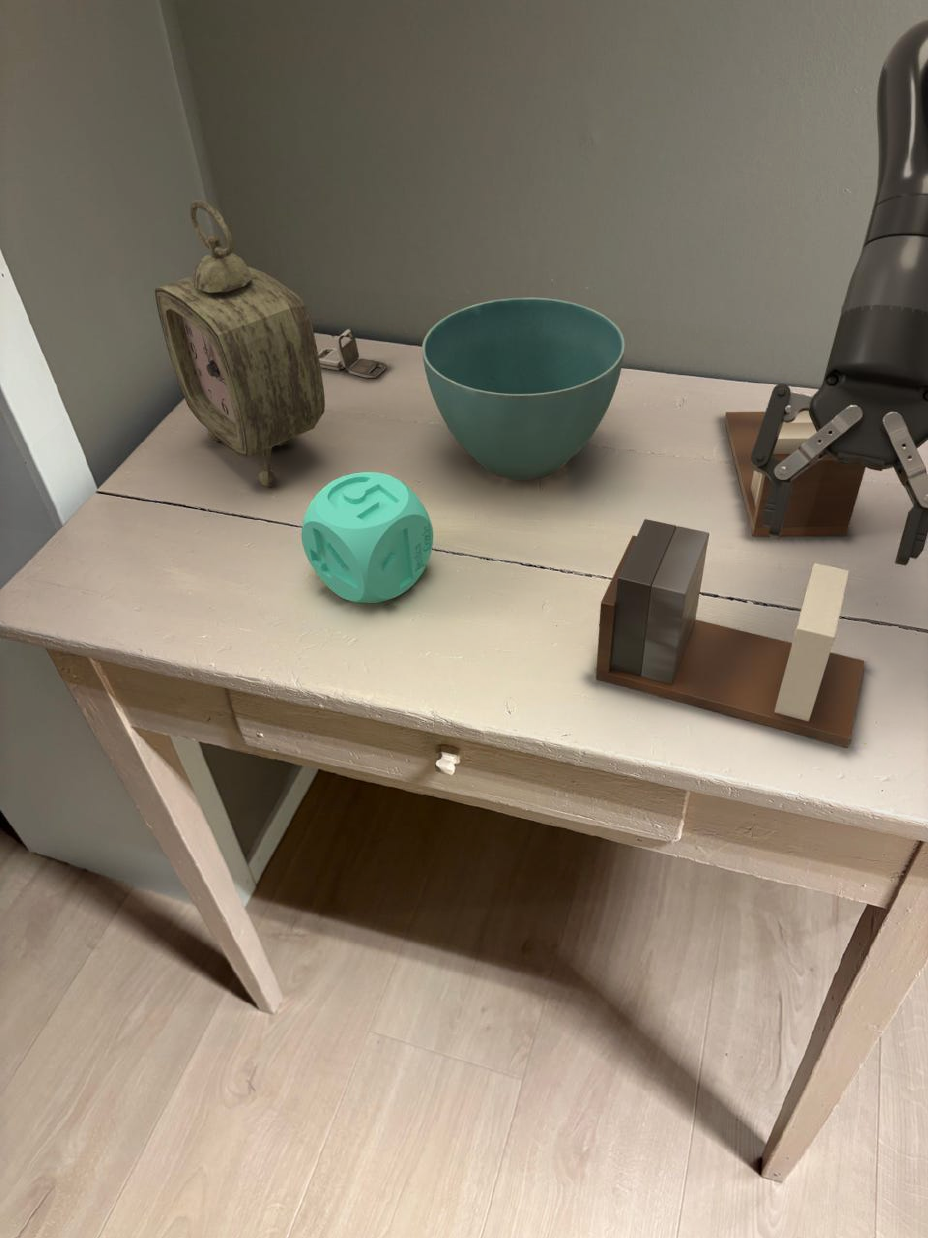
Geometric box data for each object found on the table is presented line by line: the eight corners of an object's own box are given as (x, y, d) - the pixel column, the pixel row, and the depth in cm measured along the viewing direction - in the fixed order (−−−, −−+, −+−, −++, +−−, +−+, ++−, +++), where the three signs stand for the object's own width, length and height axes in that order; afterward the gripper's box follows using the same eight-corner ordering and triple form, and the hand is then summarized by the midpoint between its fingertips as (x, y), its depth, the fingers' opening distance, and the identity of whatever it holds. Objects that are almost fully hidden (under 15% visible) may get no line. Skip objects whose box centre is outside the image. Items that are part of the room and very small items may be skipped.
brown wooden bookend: (861, 669, 72) (897, 567, 65) (847, 747, 67) (884, 646, 60) (625, 611, 78) (634, 511, 71) (595, 679, 73) (602, 579, 66)
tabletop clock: (193, 439, 100) (122, 193, 83) (269, 407, 104) (216, 165, 86) (263, 502, 92) (200, 242, 74) (342, 464, 95) (300, 209, 78)
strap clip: (311, 365, 110) (305, 331, 107) (326, 353, 112) (320, 319, 109) (374, 380, 107) (370, 345, 104) (388, 367, 109) (384, 332, 106)
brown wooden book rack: (846, 535, 84) (873, 443, 77) (752, 536, 84) (771, 444, 78) (804, 419, 97) (824, 332, 90) (724, 420, 98) (737, 333, 91)
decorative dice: (371, 618, 79) (359, 543, 74) (308, 577, 83) (292, 503, 78) (438, 569, 83) (431, 494, 78) (374, 532, 87) (364, 459, 82)
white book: (823, 655, 72) (849, 570, 66) (808, 722, 68) (834, 637, 62) (791, 647, 73) (813, 562, 67) (774, 712, 69) (796, 628, 63)
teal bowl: (484, 391, 104) (479, 283, 95) (643, 428, 97) (654, 315, 89) (398, 483, 93) (384, 369, 84) (572, 531, 86) (576, 413, 77)
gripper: (792, 287, 65) (730, 520, 65) (1024, 317, 60) (956, 568, 61) (791, 324, 72) (736, 534, 72) (999, 354, 67) (938, 578, 68)
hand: (836, 549), depth 67 cm, fingers open, 8 cm apart
